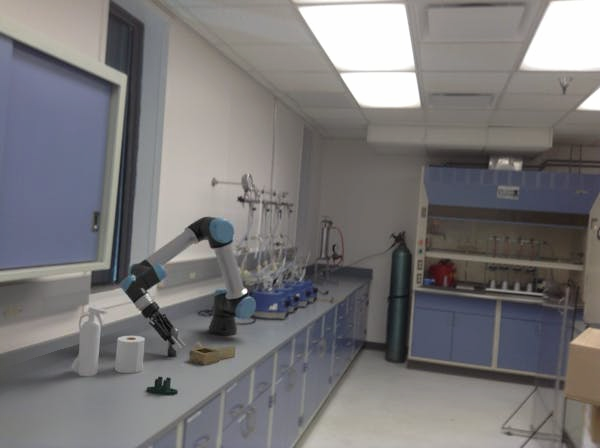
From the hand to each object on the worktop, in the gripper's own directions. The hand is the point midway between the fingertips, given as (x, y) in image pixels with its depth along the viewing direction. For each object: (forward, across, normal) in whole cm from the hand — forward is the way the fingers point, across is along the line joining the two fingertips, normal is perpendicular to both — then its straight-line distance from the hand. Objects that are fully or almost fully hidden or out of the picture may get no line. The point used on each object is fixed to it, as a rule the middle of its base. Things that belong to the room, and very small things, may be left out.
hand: (180, 348), depth 228 cm
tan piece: (+10, -5, +4) cm, 12 cm away
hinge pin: (0, 0, -5) cm, 5 cm away
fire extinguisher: (-14, +35, -20) cm, 42 cm away
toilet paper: (-6, +24, -11) cm, 27 cm away
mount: (+9, +43, +4) cm, 44 cm away
